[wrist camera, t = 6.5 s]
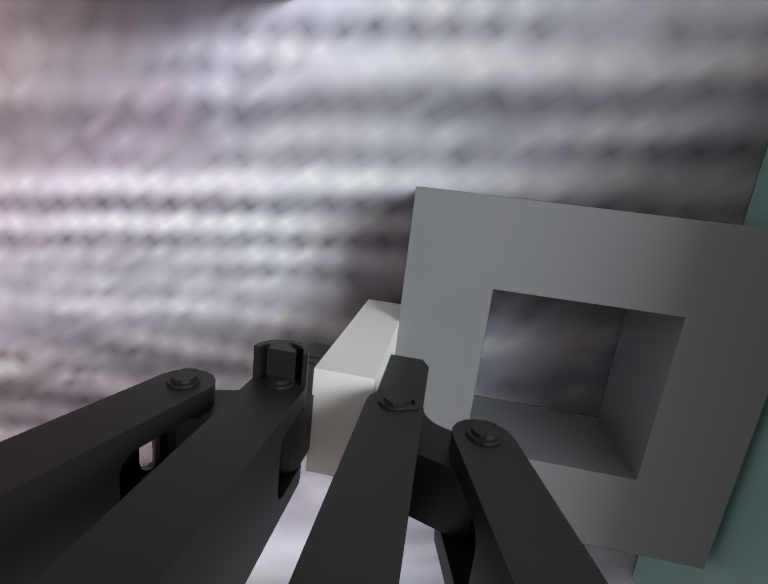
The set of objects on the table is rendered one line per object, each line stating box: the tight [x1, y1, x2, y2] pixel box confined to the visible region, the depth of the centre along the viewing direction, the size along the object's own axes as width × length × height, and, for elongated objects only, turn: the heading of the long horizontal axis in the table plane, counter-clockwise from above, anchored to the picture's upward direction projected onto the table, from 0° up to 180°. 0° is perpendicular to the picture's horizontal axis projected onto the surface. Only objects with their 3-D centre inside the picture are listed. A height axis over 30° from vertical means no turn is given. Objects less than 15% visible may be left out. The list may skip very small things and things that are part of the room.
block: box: [395, 187, 768, 569], centre depth 16 cm, size 11×11×4 cm
